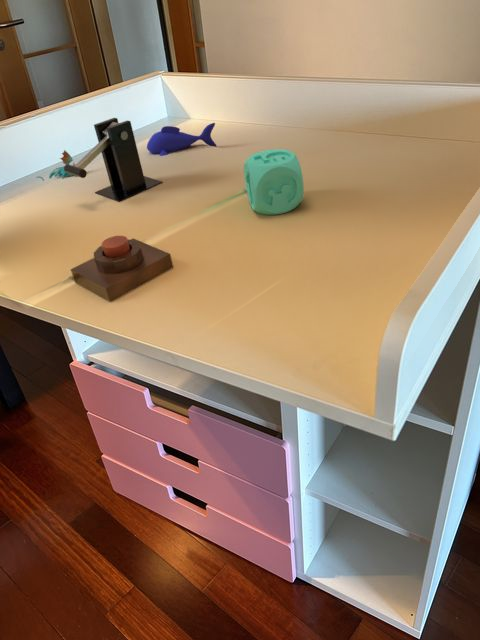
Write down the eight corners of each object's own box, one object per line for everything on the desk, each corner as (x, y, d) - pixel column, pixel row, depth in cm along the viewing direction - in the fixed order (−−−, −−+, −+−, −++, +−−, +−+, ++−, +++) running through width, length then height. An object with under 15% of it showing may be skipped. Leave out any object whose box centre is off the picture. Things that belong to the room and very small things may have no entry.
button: (114, 261, 77) (110, 250, 76) (100, 254, 79) (96, 243, 78) (135, 250, 78) (132, 239, 77) (121, 244, 81) (117, 233, 80)
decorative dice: (247, 200, 97) (241, 154, 92) (292, 191, 98) (288, 145, 93) (257, 219, 91) (251, 170, 86) (305, 209, 92) (302, 160, 87)
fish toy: (151, 169, 119) (143, 141, 113) (148, 146, 123) (140, 119, 117) (221, 157, 120) (217, 129, 114) (215, 135, 124) (211, 107, 118)
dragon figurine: (46, 188, 109) (77, 161, 110) (26, 167, 112) (57, 141, 113) (62, 206, 115) (92, 181, 116) (44, 186, 118) (73, 162, 119)
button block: (110, 302, 75) (101, 276, 73) (75, 282, 81) (66, 258, 78) (173, 267, 81) (167, 242, 79) (136, 251, 86) (130, 227, 84)
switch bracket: (120, 207, 101) (100, 134, 93) (96, 198, 105) (75, 128, 97) (164, 187, 106) (148, 117, 98) (139, 179, 111) (122, 112, 103)
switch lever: (84, 182, 95) (75, 170, 93) (69, 176, 98) (60, 165, 96) (131, 135, 99) (124, 124, 97) (115, 132, 102) (108, 120, 100)
